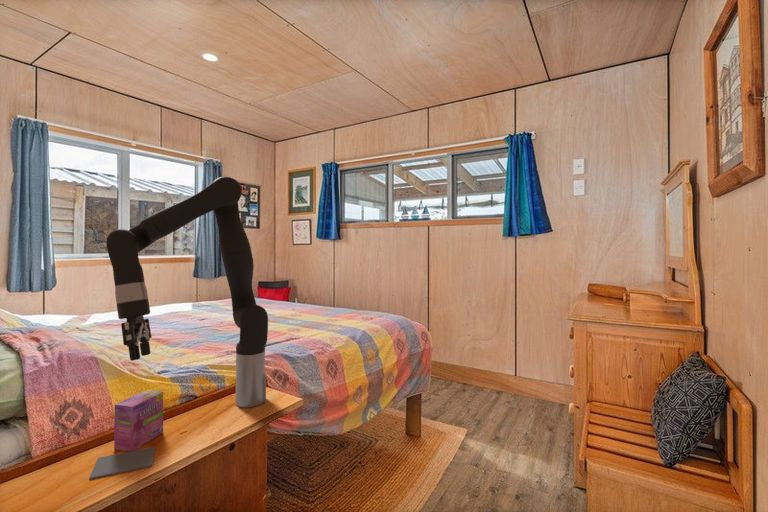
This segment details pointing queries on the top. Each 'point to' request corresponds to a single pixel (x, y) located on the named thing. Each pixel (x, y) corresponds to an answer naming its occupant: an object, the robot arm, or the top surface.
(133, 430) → the box
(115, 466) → the mat
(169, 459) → the top surface
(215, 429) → the top surface
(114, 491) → the top surface
